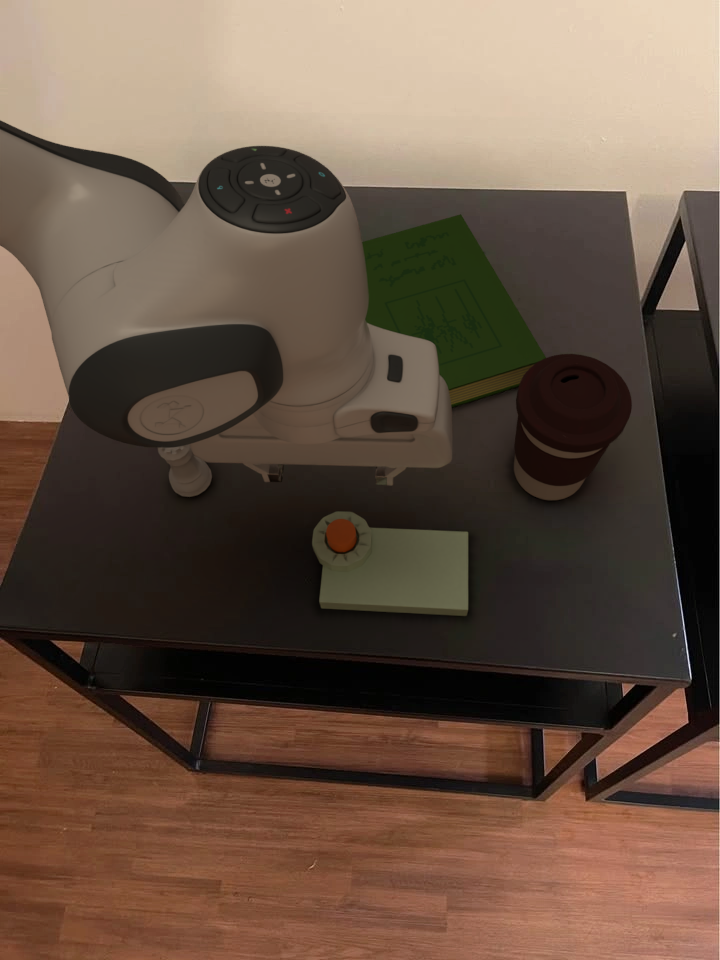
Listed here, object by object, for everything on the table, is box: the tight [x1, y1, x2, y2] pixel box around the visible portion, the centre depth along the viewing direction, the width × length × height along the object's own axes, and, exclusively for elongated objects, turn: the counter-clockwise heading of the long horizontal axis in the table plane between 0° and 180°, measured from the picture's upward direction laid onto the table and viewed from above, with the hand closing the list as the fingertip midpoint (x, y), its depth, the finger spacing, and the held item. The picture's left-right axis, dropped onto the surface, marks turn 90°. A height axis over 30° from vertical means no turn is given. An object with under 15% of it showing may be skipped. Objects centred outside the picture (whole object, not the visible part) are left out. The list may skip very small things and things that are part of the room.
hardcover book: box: [362, 214, 547, 408], centre depth 84 cm, size 25×19×4 cm
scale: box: [311, 510, 469, 617], centre depth 69 cm, size 15×9×4 cm, turn 86°
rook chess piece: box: [157, 444, 213, 498], centre depth 74 cm, size 4×4×8 cm
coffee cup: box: [513, 353, 633, 501], centre depth 69 cm, size 10×10×15 cm
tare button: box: [326, 519, 357, 553], centre depth 69 cm, size 3×3×2 cm
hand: (329, 476), depth 61 cm, fingers open, 8 cm apart
